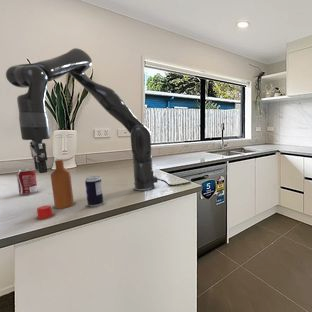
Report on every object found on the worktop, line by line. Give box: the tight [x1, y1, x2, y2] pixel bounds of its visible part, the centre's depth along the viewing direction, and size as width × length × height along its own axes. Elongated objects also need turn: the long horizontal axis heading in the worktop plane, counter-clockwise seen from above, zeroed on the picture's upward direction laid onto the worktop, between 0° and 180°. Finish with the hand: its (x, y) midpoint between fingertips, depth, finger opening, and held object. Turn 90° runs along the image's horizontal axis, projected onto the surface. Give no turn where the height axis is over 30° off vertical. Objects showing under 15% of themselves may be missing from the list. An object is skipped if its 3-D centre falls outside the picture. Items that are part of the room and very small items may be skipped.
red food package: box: [16, 168, 39, 196], centre depth 109 cm, size 7×7×12 cm
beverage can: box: [84, 175, 104, 207], centre depth 94 cm, size 6×6×12 cm
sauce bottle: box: [50, 159, 75, 209], centre depth 92 cm, size 6×6×20 cm
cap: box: [36, 204, 53, 220], centre depth 82 cm, size 4×4×4 cm
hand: (41, 171), depth 80 cm, fingers open, 8 cm apart
